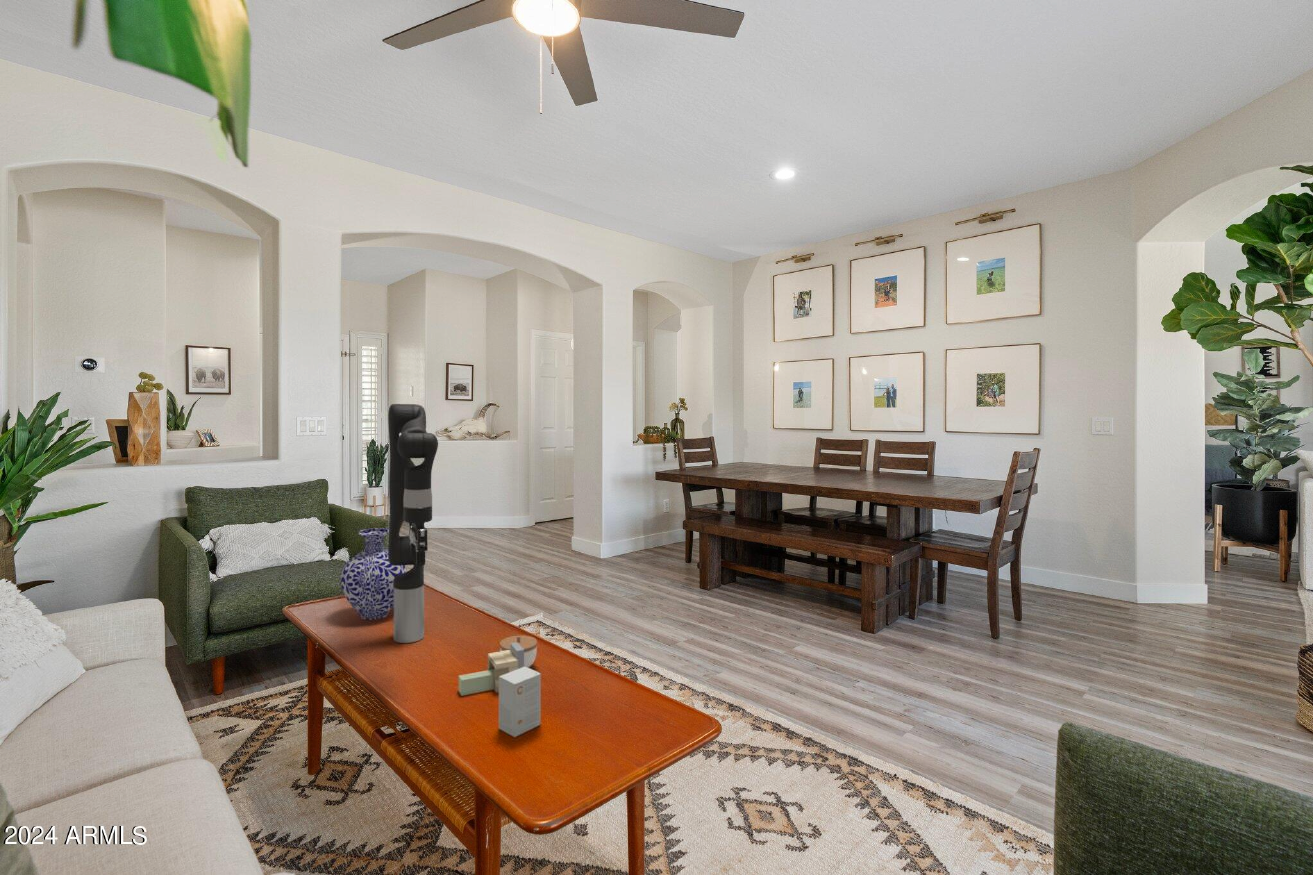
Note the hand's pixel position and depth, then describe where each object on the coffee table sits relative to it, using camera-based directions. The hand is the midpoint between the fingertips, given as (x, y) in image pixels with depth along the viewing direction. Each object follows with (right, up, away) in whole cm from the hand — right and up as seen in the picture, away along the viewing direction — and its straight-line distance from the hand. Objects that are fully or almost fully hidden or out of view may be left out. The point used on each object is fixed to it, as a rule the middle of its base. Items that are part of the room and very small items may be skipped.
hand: (418, 561), depth 185 cm
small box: (+34, -35, -26) cm, 55 cm away
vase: (-32, -28, +47) cm, 64 cm away
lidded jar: (+27, -33, +7) cm, 43 cm away
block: (+25, -33, -4) cm, 41 cm away
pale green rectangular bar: (+20, -33, -7) cm, 39 cm away
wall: (+28, -33, -2) cm, 43 cm away
